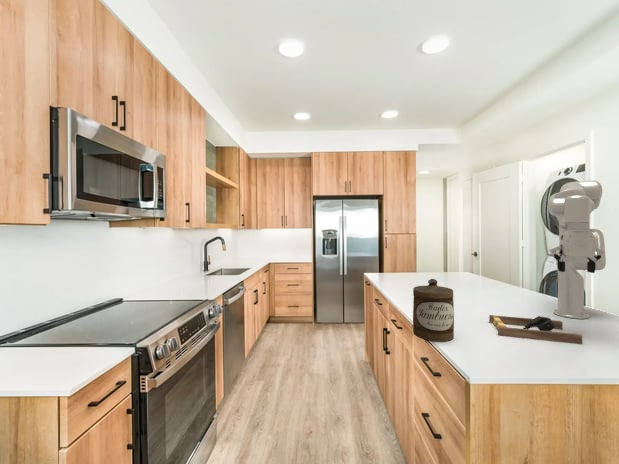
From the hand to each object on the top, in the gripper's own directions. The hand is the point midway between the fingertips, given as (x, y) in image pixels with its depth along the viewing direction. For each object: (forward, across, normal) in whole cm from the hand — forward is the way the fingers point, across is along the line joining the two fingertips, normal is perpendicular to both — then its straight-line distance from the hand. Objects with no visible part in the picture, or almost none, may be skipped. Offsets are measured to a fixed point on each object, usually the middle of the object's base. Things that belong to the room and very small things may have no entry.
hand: (576, 271), depth 118 cm
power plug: (+25, -13, +1) cm, 28 cm away
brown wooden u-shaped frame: (+25, -14, +2) cm, 29 cm away
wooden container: (+26, -53, -10) cm, 60 cm away
